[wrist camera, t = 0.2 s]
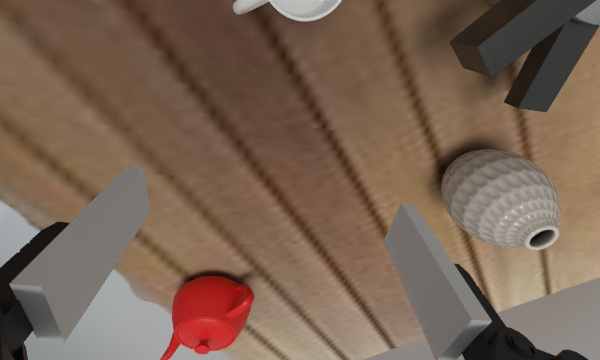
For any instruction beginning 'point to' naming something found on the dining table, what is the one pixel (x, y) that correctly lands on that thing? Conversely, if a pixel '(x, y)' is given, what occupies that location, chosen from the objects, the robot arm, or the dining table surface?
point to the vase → (502, 199)
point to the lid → (516, 30)
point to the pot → (549, 65)
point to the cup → (291, 7)
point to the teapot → (209, 314)
